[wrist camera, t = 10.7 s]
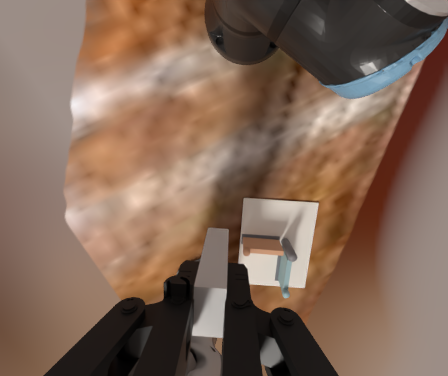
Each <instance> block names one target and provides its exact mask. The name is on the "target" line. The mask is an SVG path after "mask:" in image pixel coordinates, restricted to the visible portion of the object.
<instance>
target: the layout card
mask: <svg viewBox="0 0 448 376" xmlns="http://www.w3.org/2000/svg"><path fill="white" fill-rule="evenodd" d="M318 204H319V203H317V202H302V201H287V200H272V199H257V198H244V200H243V212H242V224H241V236H240V248H239V260H238V264H244V265H245V266H246V268H247V269H248V277H249V284H255V285H269V286H280V284H279V281H278V275H279V267H280V260H281V256H279V255H268V254H256V253H250V255H249V256H244V254H243V237H250V238H262V239H274V240H279V241H280V243H281V240H282V239H283V238H287V239H288V240H289V241H290V243H291V245H292V247H293V249H294V251H295V253H296V255H297V260H296V261H294V262H292V265H291V272H290V279H289V286H288V287H296V288H305V283H306V277H307V271H308V265H309V259H310V252H311V246H312V240H313V234H314V228H315V222H316V216H317V210H318ZM281 246H282V244H281ZM282 248H283V246H282Z"/></svg>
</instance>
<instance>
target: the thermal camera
mask: <svg viewBox="0 0 448 376" xmlns="http://www.w3.org/2000/svg"><path fill="white" fill-rule="evenodd" d="M195 261H200V259H198V260H195ZM177 273H178V272H177ZM216 341H217V338H216V337H204V336H192V335H191V348H190V353H189V358H188V364H187V369H186V374H185V376H221V356H222V355H221V354H220V353H219V352H218V351H217V349H216V348H215V344H216Z"/></svg>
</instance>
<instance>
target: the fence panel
mask: <svg viewBox="0 0 448 376" xmlns="http://www.w3.org/2000/svg"><path fill="white" fill-rule="evenodd" d="M250 253H256V254H268V255H279V256H283V254H284V250H283V248H282V246H281V243H280V241H279V240H274V239H262V238H250V237H243V254H244V256H249V255H250Z"/></svg>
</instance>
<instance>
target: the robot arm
mask: <svg viewBox="0 0 448 376" xmlns="http://www.w3.org/2000/svg"><path fill="white" fill-rule="evenodd" d="M205 24H206V28H207V32H208V36H209V38H210V41H211V43H212V44H213V46H214V48H215V49H216V50H217V52H218V53H219V54H220V55H222V56H223V57H224V58H225V59H227V60H229V61H231V62H233V63H236V64H241V65H252V64H256V63H259V62H262V61H264V60H266V59H267V58H269V57H270V56H271V55H273V54H274V53H275V52H276V51H277V50H278V48H280V49H281V50H283V51H284V52H285V53H286V54H288V55H289V56H290V57H291V58H292V59H294V60H295V61H296V62H297V63H298V64H300V65H301V66H302V67H303V68H304V69H306V70H307V71H308V72H309V73H311V74H312V75H313V76H314V77H315V78H317V79H318V81H319V83H320V84H321V85H322V86H325V87H327V88H330V89H331V90H332V91H334V92H335V93H336V94H338V95H339V96H341V97H343V98H347V99H356V98H361V97H365V96H368V95H370V94H373V93H375V92H377V91H379V90H381V89H383V88H385V87H386V86H388V85H390V84H392V83H393V82H395V81H396V80H398V79H399V78H401V77H402V76H403V75H405V74H406V73H407V72H409V71H410V70H411V68H412V66H413V65H414V64H415V63H417V62H419V61H421V60H423V59H424V58H425V57H426V56H427V55H428V54H429V53H430V52H431V51H433V49H434V48H435V47H436V46H437V45H438V44H439V42H440V41H441V40H442V38H443V36H444V35H445V33H446V30H447V28H448V0H206V3H205ZM228 236H229V229H221V228H208V231H207V235H206V239H205V243H204V247H203V251H202V255H201V259H200V261H187V260H186V261H185V262H183V263H182V264H181V265H180V268H179V270H178V273H177V275H175V276H171V277H169V278H168V279H166V281H165V282H164V299H163V300H162V301H160V302H158V303H154V304H149V305H145V302H144V301H143V300H142V299H140V298H136V297H131V298H126V299H124V300H122V301H120V302H119V303H117V304H116V305H115V306H114V307H113V308H112V309H111V310H110V311H109V312H108V313H107V314H106V315H105V316H104V317H103V318H102V319H101V320H100V321H99V322H98V323H97V324H96V325H95V326H94V327H93V328H92V329H91V330H90V331H89V332H88V333H86V335H84V337H82V338H81V339H80V340H79V341H78V342H77V343H76V344H75V345H74V346H73V347H72V348H71V349H70V350H69V351H68V352H67V353H66V354H65V355H64V356H63V357H62V358H61V359H60V360H59V361H58V362H57V363H56V364H55V365H54V366H53V367H52V368H51V369H50V370H49V371H48V372H47V373H46V374H45V375H44V376H185V374H186V369H187V364H188V358H189V353H190V348H191V335H192V336H204V337H216V338H223V342H222V356H221V376H263V375H262V366H261V364H263V365H265V370H266V373H267V375H268V376H338V374H337V372H336V371H335V370H334V368H333V366H332V365H331V363H330V362H329V360H328V359H327V357H326V356H325V354H324V353H323V351H322V350H321V348H320V347H319V345H318V344H317V342H316V341H315V339H314V338H313V336H312V335H311V333H310V332H309V330H308V329H307V327H306V326H305V324H304V323H303V321H302V320H301V318H300V317H299V316H298V314H297V313H295V312H294V311H292V310H291V309H287V308H281V307H279V308H276V309H274V310H273V311H272V312H271V313H268V312H265V311H263V310H261V309H259V308H257V307H256V306H255V305H254V304H253V301H252V300H251V294H250V285H249V277H248V269H247V268H246V266H245V265H244V264H238V263H228Z"/></svg>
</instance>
